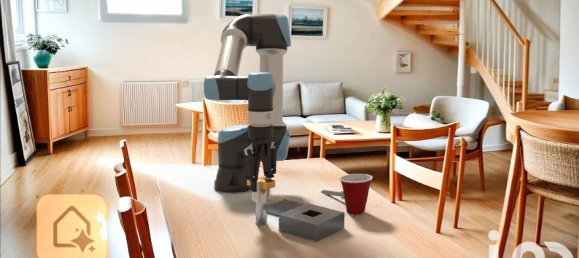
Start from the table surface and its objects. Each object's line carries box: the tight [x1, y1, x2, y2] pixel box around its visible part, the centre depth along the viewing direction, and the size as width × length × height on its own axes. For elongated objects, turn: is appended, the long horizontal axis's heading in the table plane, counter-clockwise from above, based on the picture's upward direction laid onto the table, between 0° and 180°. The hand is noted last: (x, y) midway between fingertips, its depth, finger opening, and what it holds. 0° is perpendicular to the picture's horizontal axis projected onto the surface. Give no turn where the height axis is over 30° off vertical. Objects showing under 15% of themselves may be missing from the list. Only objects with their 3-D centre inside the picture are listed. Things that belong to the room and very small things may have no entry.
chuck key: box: [247, 176, 276, 226], centre depth 168 cm, size 8×4×14 cm, turn 50°
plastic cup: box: [338, 173, 374, 216], centre depth 180 cm, size 11×11×12 cm
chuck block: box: [278, 202, 346, 243], centre depth 164 cm, size 14×14×5 cm
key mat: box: [267, 198, 305, 218], centre depth 182 cm, size 16×14×1 cm
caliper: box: [320, 189, 345, 200], centre depth 193 cm, size 20×1×6 cm, turn 28°
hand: (261, 199), depth 168 cm, fingers closed on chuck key, 4 cm apart
